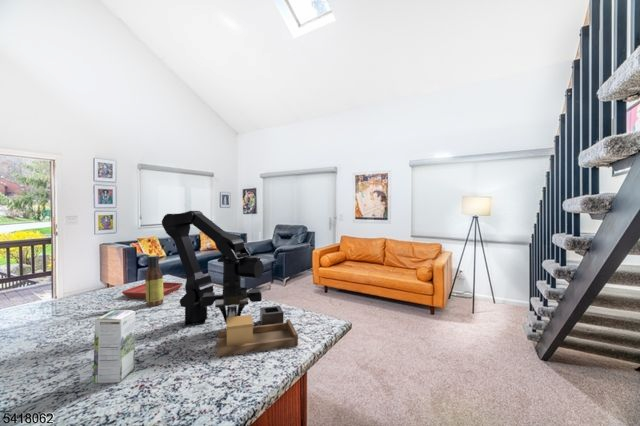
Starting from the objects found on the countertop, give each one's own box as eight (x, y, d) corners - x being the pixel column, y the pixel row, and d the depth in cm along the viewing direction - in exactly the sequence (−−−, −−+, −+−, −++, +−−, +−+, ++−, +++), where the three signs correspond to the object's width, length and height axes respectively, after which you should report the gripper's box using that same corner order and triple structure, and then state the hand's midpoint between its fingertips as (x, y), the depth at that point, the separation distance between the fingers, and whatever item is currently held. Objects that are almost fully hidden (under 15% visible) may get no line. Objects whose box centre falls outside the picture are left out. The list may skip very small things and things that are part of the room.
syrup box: (110, 369, 67) (110, 309, 67) (135, 368, 68) (135, 309, 68) (92, 384, 61) (92, 319, 61) (121, 383, 62) (121, 318, 62)
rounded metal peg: (227, 330, 90) (227, 308, 90) (227, 326, 93) (227, 305, 93) (236, 328, 91) (236, 307, 91) (236, 325, 94) (236, 304, 93)
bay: (216, 357, 73) (216, 345, 73) (218, 337, 85) (218, 327, 85) (297, 345, 80) (297, 334, 80) (289, 328, 92) (289, 319, 92)
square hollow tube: (262, 328, 91) (262, 314, 91) (260, 320, 98) (260, 307, 98) (283, 325, 93) (283, 312, 93) (279, 318, 100) (279, 305, 100)
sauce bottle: (166, 302, 117) (167, 254, 116) (156, 307, 110) (156, 257, 110) (152, 301, 117) (152, 254, 117) (141, 306, 111) (141, 256, 111)
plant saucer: (149, 287, 139) (149, 281, 139) (183, 289, 137) (184, 282, 137) (120, 299, 121) (120, 291, 121) (159, 301, 119) (159, 293, 119)
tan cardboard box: (226, 349, 76) (226, 326, 76) (226, 337, 83) (226, 317, 83) (253, 345, 79) (253, 323, 79) (251, 334, 85) (251, 314, 85)
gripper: (198, 284, 81) (198, 337, 81) (263, 279, 87) (263, 329, 87) (202, 275, 92) (202, 322, 92) (260, 272, 97) (259, 316, 97)
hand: (231, 323), depth 92 cm, fingers closed on rounded metal peg, 3 cm apart
